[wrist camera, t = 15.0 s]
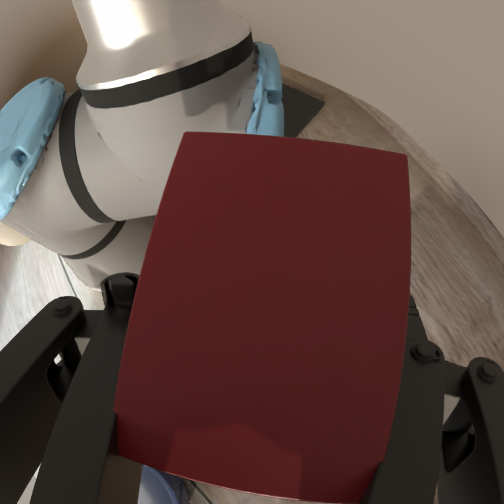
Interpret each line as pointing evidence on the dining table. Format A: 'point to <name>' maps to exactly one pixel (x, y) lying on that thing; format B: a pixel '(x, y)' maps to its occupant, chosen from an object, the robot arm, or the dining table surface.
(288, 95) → the mat
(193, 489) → the dining table surface
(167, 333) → the case
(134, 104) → the robot arm
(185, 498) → the bowl
